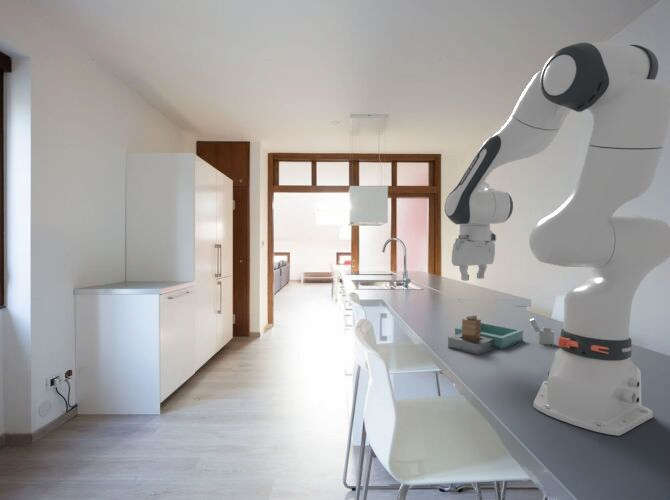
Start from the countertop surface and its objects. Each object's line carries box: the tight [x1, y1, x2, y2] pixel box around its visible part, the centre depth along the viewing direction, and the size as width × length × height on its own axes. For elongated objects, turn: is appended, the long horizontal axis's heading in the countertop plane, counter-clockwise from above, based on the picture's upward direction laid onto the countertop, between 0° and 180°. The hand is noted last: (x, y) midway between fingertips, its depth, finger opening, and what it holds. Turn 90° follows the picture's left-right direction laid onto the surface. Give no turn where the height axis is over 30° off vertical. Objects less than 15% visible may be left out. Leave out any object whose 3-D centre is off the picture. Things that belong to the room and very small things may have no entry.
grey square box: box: [447, 333, 495, 356], centre depth 110 cm, size 10×10×3 cm
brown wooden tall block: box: [461, 313, 482, 342], centre depth 110 cm, size 4×4×10 cm
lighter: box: [528, 317, 555, 346], centre depth 116 cm, size 7×2×8 cm, turn 71°
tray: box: [454, 321, 524, 350], centre depth 120 cm, size 16×16×4 cm
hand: (473, 279), depth 109 cm, fingers open, 8 cm apart
